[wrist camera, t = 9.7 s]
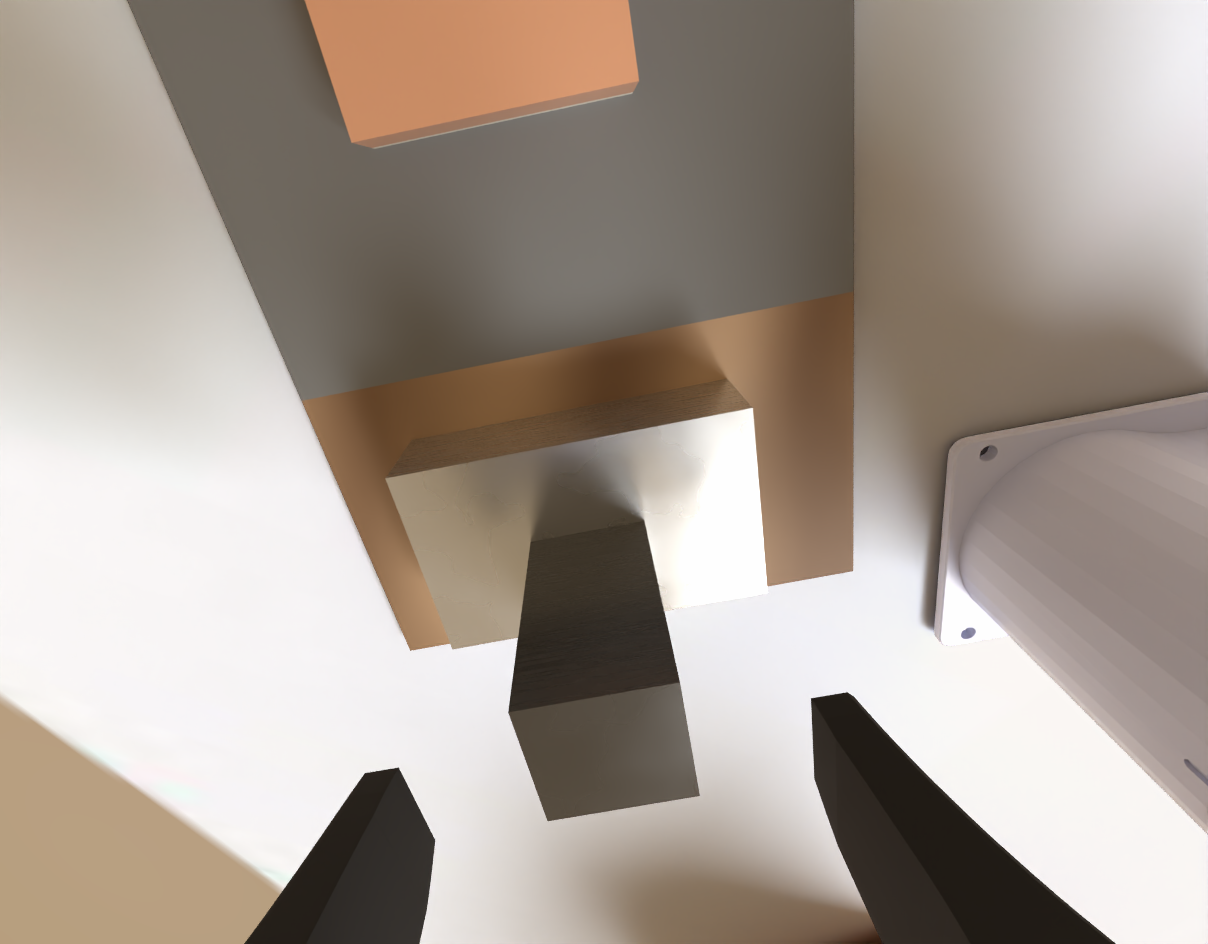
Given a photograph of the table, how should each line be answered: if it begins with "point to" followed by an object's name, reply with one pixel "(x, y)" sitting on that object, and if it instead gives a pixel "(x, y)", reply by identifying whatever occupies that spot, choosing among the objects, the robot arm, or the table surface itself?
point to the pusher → (591, 572)
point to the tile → (468, 61)
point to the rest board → (617, 371)
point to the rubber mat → (522, 189)
